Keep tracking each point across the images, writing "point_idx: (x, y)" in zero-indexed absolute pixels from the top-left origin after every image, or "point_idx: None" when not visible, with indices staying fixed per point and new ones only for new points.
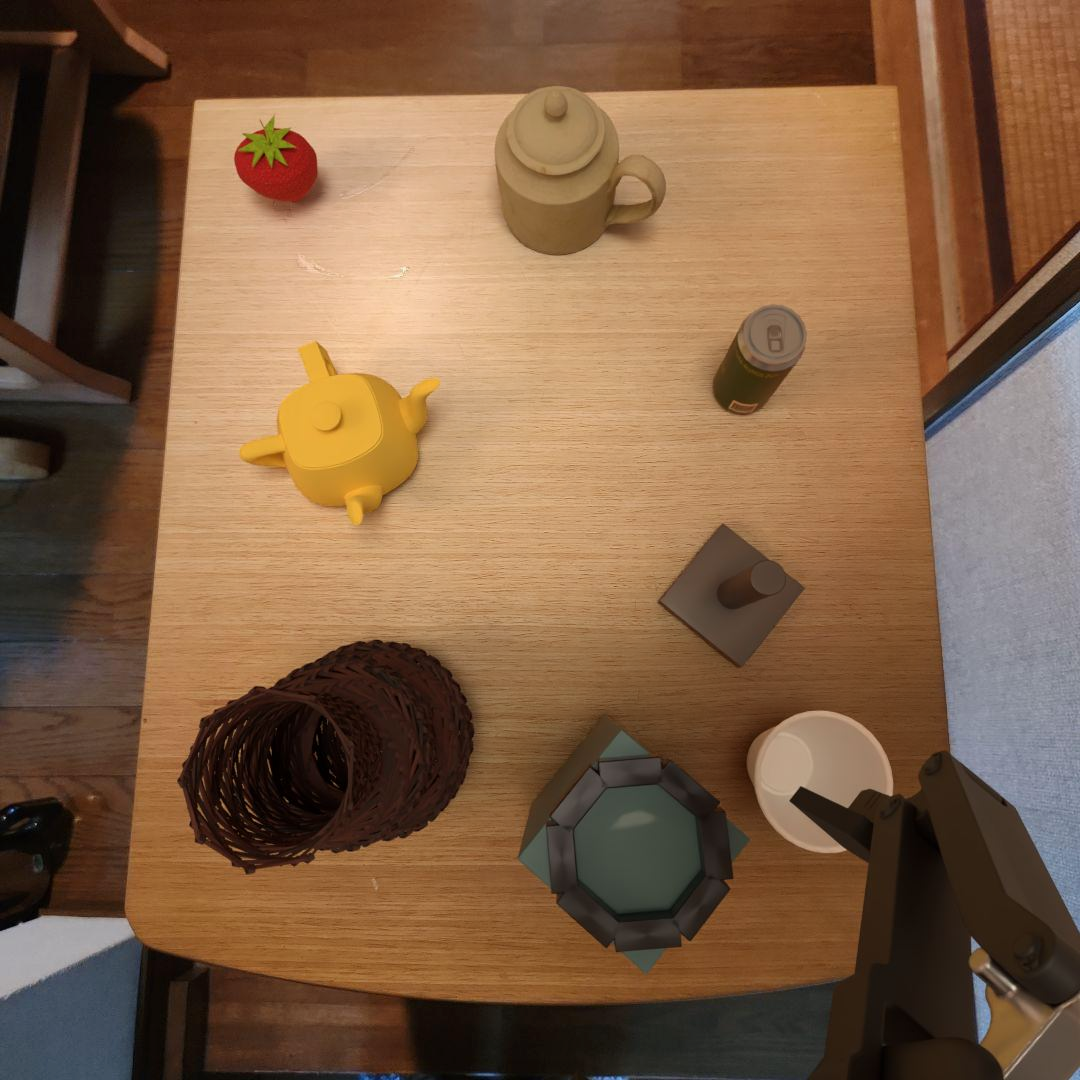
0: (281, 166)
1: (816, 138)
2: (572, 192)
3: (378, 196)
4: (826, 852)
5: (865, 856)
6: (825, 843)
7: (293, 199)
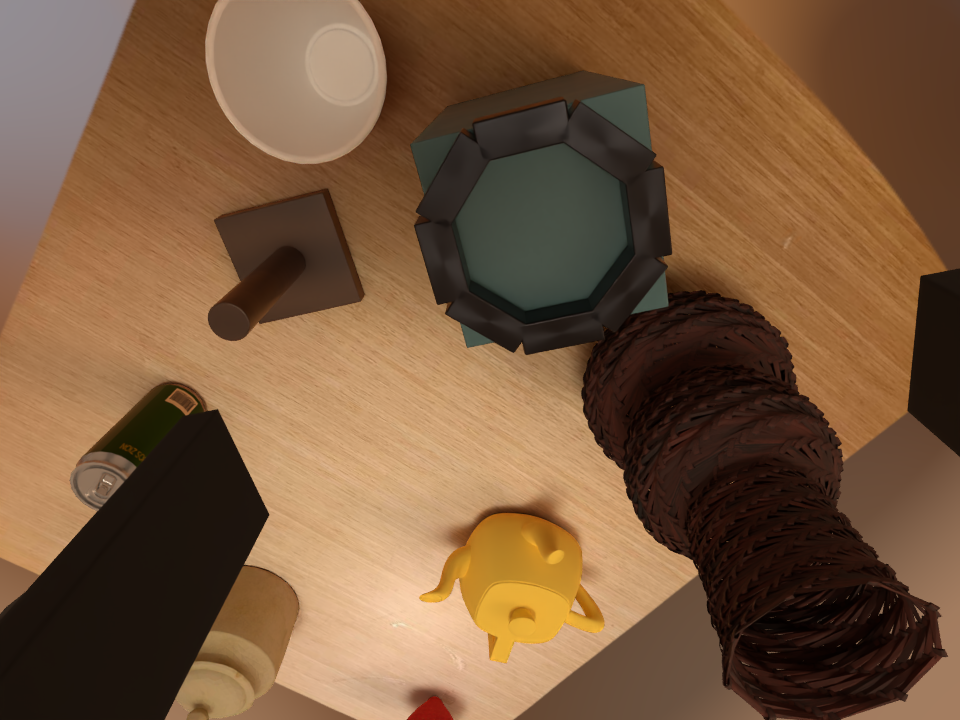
0: None
1: (6, 529)
2: (226, 641)
3: (379, 670)
4: None
5: (126, 604)
6: None
7: (437, 709)
